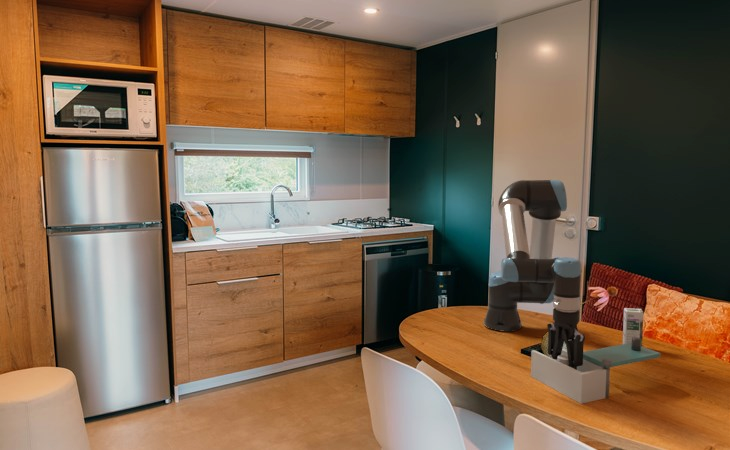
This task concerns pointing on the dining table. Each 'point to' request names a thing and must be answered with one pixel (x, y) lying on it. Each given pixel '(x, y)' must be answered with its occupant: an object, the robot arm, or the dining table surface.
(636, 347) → the lid
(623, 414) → the dining table surface
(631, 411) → the dining table surface
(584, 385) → the grey planter box
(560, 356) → the pill bottle
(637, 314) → the syrup box
